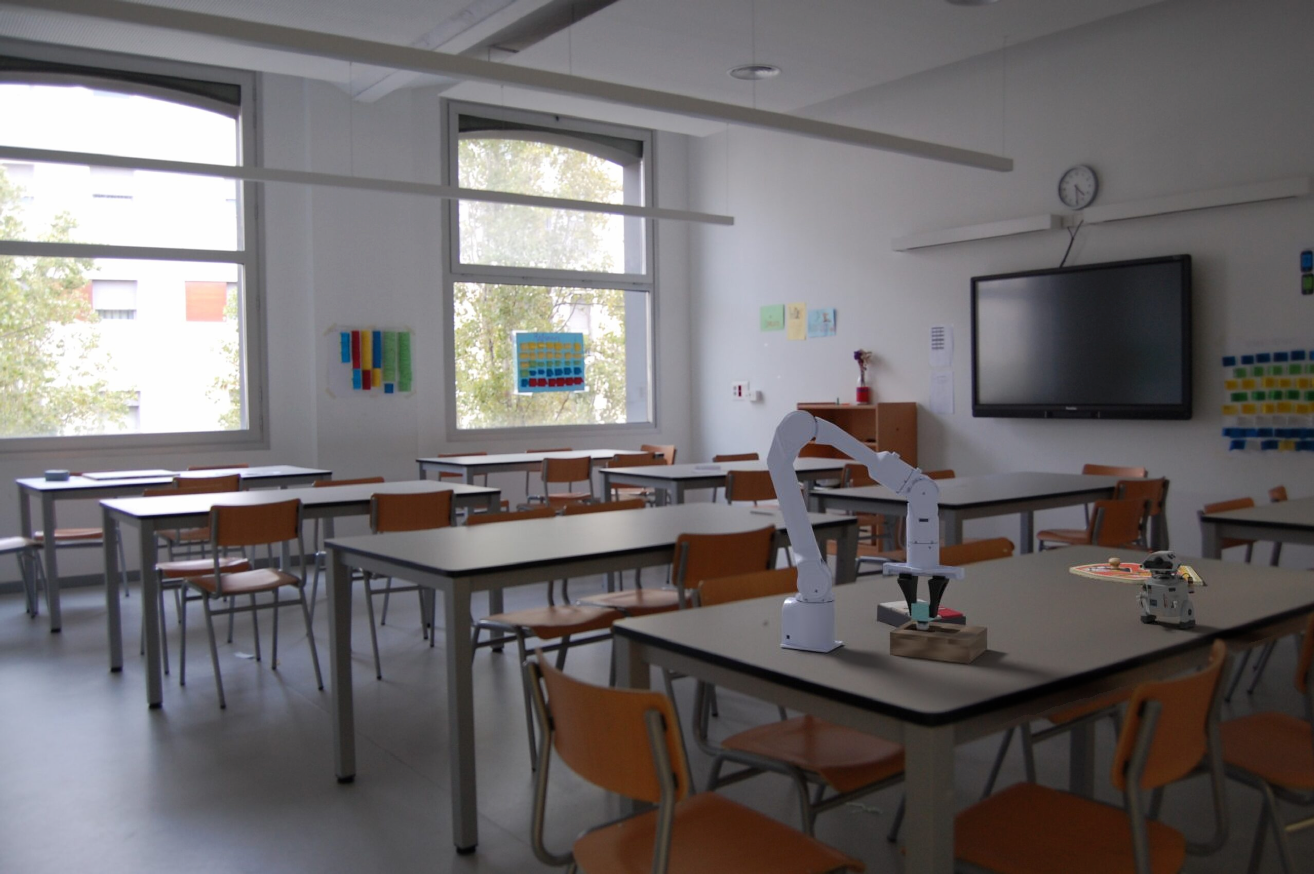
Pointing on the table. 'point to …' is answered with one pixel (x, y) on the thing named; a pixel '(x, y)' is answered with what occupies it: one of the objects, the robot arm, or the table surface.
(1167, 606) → the figurine
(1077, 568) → the knob puzzle
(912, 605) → the peg
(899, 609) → the calculator
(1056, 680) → the table surface
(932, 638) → the keyhole plate
